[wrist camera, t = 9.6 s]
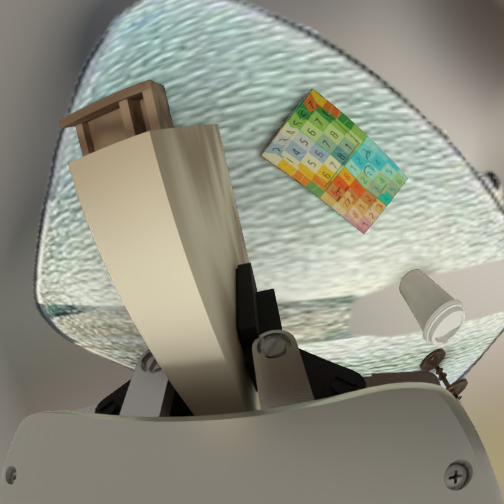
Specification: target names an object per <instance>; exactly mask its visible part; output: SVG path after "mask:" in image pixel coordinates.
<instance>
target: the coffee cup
mask: <svg viewBox="0 0 504 504" xmlns="http://www.w3.org/2000/svg"><path fill="white" fill-rule="evenodd" d="M399 289H400V293H401V294H402V296H403V297H404V299H405V301H406V302H407V304H408V306H409V307H410V309H411V311H412V313H413V314H414V316H415V318H416V320H417V322H418V323H419V325H420V327H421V329H422V331H423V338H424V339H425V340H426V341H427V342H429V343H433V344H434V345H442V344H444V343H446V342H448V341H449V340H451V339H452V338H453V337H454V336H455V335H456V334H457V333H458V332H459V331H460V329H461V328H462V326H463V324H464V321H465V313H464V307H463V304H462V302H461V301H459V300H455V299H454V298H453V297H451V296H450V295H449V294H448V293H447V292H446V291H444V290H443V289H442V288H441V287H440V286H439V285H438V284H436V283H435V282H434V281H433V280H432V279H430V278H429V277H428V276H427V275H426V274H424V273H423V272H422V271H421V270H412V271H410V272H409V273H407V274H406V275H405V276H404V278H403V279H402V281H401V283H400V287H399Z"/></svg>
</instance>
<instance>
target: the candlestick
mask: <svg viewBox="0 0 504 504" xmlns="http://www.w3.org/2000/svg"><path fill="white" fill-rule="evenodd" d="M444 357H445V352H444V350H443V349H437V350H435V351H433V352H432V353H430V354H429V355H428V356H426V357H425V359H424V360H423V361H422V363H421V365H420V368H421V370H422V371H429V370H431V369H433V368H435V369H436V374H438V375H439V380H440V381H441V380H442V381H443V383H444V384H445V386H446V390H448V391H449V392H450V393H451V394H452V395H453V396H454V397H455V398H456V399H457V400H458V402H459V403H460V404H461V402H460V399H461V397H462V396H459V397H458V395H459V394H460V393H461V392H462V391H463V390H464V389H465V387H466V386H467V383H468V382H467V380H466V379H465V378H463V379H460V380H458V381H456V382H454V383H453V384H451V385H450V384H449V382H448V381H447V379H446V376H447V374H446V373H443V371H442V370H443V369H442V368H440V367H439V365H438V364H439V363H440V362H441V361H442V360H443V359H444ZM461 406H462V404H461ZM462 407H463V406H462ZM463 408H464V407H463ZM464 410H465V409H464Z"/></svg>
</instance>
